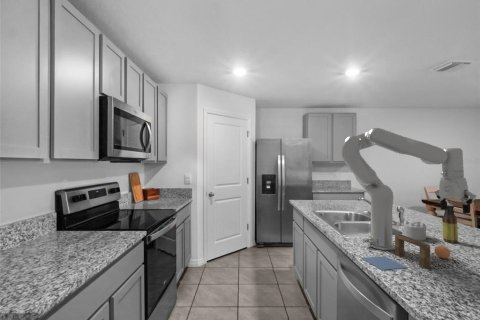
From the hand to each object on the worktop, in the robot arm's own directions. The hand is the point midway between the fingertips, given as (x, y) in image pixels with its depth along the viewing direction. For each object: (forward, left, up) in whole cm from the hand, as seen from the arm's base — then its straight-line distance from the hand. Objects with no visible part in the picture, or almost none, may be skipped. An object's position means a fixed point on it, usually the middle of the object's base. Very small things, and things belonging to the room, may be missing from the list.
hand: (454, 211), depth 112 cm
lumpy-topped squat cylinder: (+4, +25, -20) cm, 33 cm away
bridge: (-26, -3, -20) cm, 33 cm away
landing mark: (-40, -3, -20) cm, 45 cm away
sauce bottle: (+16, +15, -20) cm, 30 cm away
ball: (-10, -3, -17) cm, 20 cm away
